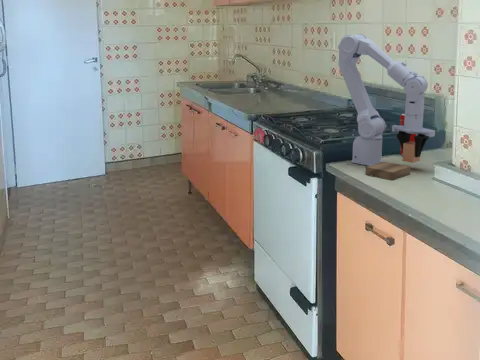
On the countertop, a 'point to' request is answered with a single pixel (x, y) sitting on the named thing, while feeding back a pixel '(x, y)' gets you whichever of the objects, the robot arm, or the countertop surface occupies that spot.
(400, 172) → the walnut base
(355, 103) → the robot arm
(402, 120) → the beverage can
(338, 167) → the countertop surface
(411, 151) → the terracotta block
